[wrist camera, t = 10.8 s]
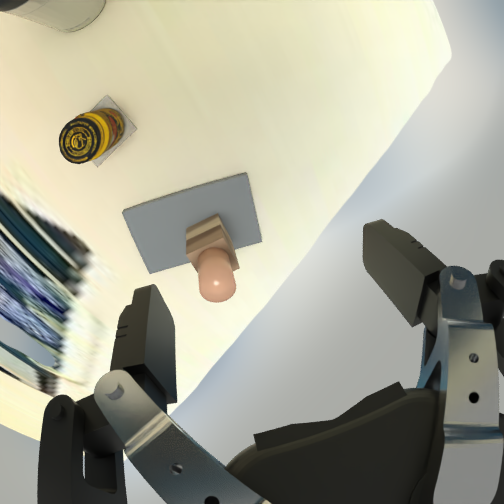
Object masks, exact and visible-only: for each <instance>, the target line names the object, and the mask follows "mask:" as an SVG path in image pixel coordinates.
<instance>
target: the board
mask: <svg viewBox="0 0 504 504" xmlns="http://www.w3.org/2000/svg"><path fill="white" fill-rule="evenodd" d="M217 213H218V215H219V217H220V219H221V221H222V223H223V225H224V227H225V229H226V230H227V232H228V234H229V236H230V238H231V240H232V243H233V247H234V250H235V249H238V248H242V247H245V246H249V245H252V244H256V243H260V242H262V239H261V234H260V230H259V225H258V221H257V216H256V212H255V207H254V203H253V198H252V194H251V189H250V185H249V180H248V176H247V174H246V173H242V174H238V175H234V176H231V177H227V178H223V179H220V180H216V181H213V182H209V183H206V184H202V185H199V186H195V187H192V188H189V189H185V190H182V191H179V192H176V193H172V194H169V195H166V196H163V197H160V198H157V199H154V200H151V201H148V202H145V203H142V204H139V205H136V206H133V207H130V208H127V209H125V210H123V212H122V214H123V216H124V219H125V221H126V223H127V226H128V228H129V230H130V233H131V235H132V237H133V239H134V242H135V244H136V246H137V248H138V250H139V252H140V255H141V257H142V259H143V261H144V263H145V265H146V267H147V269H148V271H149V273H150V274H152V273H155V272H158V271H162V270H165V269H169V268H172V267H176V266H179V265H183V264H186V263H190V260H189V259H188V257H187V255H186V228H188V227H190V226H192V225H194V224H196V223H198V222H200V221H202V220H204V219H206V218H209V217H211V216H213V215H215V214H217Z"/></svg>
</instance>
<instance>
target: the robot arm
mask: <svg viewBox="0 0 504 504" xmlns="http://www.w3.org/2000/svg"><path fill="white" fill-rule="evenodd" d="M105 1H106V0H0V11H2V12H5V13H9V14H12V15H16V16H19V17H22V18H25V19H29V20H32V21H34V22H37V23H40V24H43V25H46V26H48V27H51V28H54V29H56V30H59V31H62V32H73V31H77V30H79V29H82V28H83V27H85V26H87V25H88V24H89V23H91V22H92V21H93V20H94V19H95V18H96V17H97V16H98V15H99V13H100V12H101V11H102V9H103V7H104V4H105ZM363 263H364V266H365V269H366V270H367V272H368V273H369V274H370V276H371V277H372V278H373V279H374V280H375V282H376V283H377V284H378V285H379V286H380V288H381V289H382V290H383V291H384V293H385V294H386V295H387V296H388V297H389V299H390V300H391V301H392V302H393V304H394V305H395V306H396V307H397V309H398V310H399V311H400V312H401V314H402V315H403V316H404V318H405V319H406V320H407V321H408V323H409V324H410V325H411V326H412V327H414V326H416V325H418V324H420V323H422V322H423V323H424V325H425V328H424V333H423V348H422V361H421V371H420V376H419V380H418V383H417V386H416V388H408V389H403V387H402V386H401V384H400V383H399V382H396V383H394V384H392V385H390V386H388V387H386V388H384V389H382V390H380V391H378V392H375V393H373V394H371V395H369V396H367V397H365V398H364V399H363V400H362V401H360V402H359V403H357V404H356V405H354V406H353V407H352V408H350V409H349V410H347V411H346V412H345V413H343V414H342V415H340V416H339V417H337V418H335V419H333V420H328V421H320V422H310V423H299V424H290V425H287V426H284V427H281V428H277V429H273V430H269V431H265V432H262V433H258V434H254V439H255V444H253V445H251V446H249V447H247V448H246V449H244V450H243V451H241V452H240V453H239V454H238V455H236V456H235V457H234V458H233V459H232V460H231V461H230V462H229V463H228V465H227V466H225V465H223V464H222V463H221V462H220V461H218V460H217V459H216V458H215V457H214V456H212V455H211V454H210V453H209V452H207V451H206V450H205V449H204V448H203V447H202V446H200V445H199V444H198V443H197V442H196V441H195V440H194V439H193V438H192V437H191V436H189V435H188V434H187V433H186V432H185V431H184V430H183V429H182V428H181V427H180V426H179V425H178V424H177V423H176V422H175V421H174V420H173V419H172V418H171V417H170V416H169V415H168V414H167V404H171V403H177V388H176V360H175V325H174V321H173V318H172V315H171V313H170V311H169V309H168V307H167V305H166V303H165V302H164V300H163V298H162V296H161V294H160V292H159V290H158V288H157V286H156V285H155V284H152V285H148V286H145V287H141V288H138V289H135V291H134V295H133V300H132V304H131V305H127V306H126V307H125V309H124V310H123V312H122V313H121V315H120V317H119V321H118V326H117V328H118V330H117V332H116V339H115V342H114V348H113V354H112V360H111V366H110V372H108V373H106V374H105V375H103V376H102V377H101V378H100V380H99V381H98V382H97V384H96V386H95V389H94V394H92V395H90V396H87V397H85V398H83V399H81V400H79V401H77V402H75V401H74V400H73V399H71V398H70V397H69V396H67V395H58V396H56V397H54V398H53V399H52V400H51V401H50V402H49V403H48V405H47V406H46V408H45V411H44V417H43V424H42V431H41V440H40V450H39V463H38V491H37V494H38V495H37V497H38V504H127V496H126V487H125V475H124V462H123V449H124V452H125V454H126V456H127V457H128V459H129V460H130V461H131V463H132V464H133V465H134V467H135V468H136V469H137V470H138V471H139V473H140V474H141V475H142V476H143V478H144V479H145V480H146V481H147V482H148V483H149V485H150V486H151V487H152V488H153V489H154V490H155V491H156V492H157V493H158V495H159V496H160V497H161V498H162V499H163V500H164V501H165V502H166V503H167V504H504V414H502V413H499V377H498V369H499V370H500V372H501V373H502V375H503V376H504V318H503V317H504V260H495V261H493V262H492V263H491V264H490V267H489V270H488V273H486V274H479V275H473V274H472V273H471V272H470V271H469V270H467V269H465V268H463V267H460V266H448V267H447V266H446V265H444V264H443V263H442V262H441V261H440V260H439V259H438V258H437V257H436V256H435V255H433V254H432V253H431V252H430V251H429V250H428V249H427V248H425V247H423V245H422V244H421V243H420V242H418V241H417V240H416V239H415V238H414V237H412V236H411V235H410V234H409V233H407V232H405V231H402V230H400V229H398V228H393V227H392V226H391V225H389V223H387V222H386V221H385V220H383V219H381V220H377V221H374V222H370V223H367V224H365V225H364V227H363ZM83 451H84V452H85V479H84V476H83Z"/></svg>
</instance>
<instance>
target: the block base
mask: <svg viewBox="0 0 504 504" xmlns="http://www.w3.org/2000/svg"><path fill="white" fill-rule="evenodd" d="M218 225H221V227H222V229H223V231H224V232H225V234H226V236H227V238H228V240H229V242H230V244H231V246H232V248H233V250H234V247H233V243H232V240H231V238H230V236H229V234H228V232H227V230H226V229H225V227H224V225H223V223H222V221H221V219H220V217H219V215H218V213H217V214H215V215H213V216H211V217H209V218H206V219H204V220H202V221H200V222H198V223H196V224H194V225H192V226H190V227H188V228H186V240H188V239H190V238H192V237H194V236H196V235H199V234H201V233H203V232H205V231H207V230H209V229H211V228H213V227H216V226H218ZM234 252H235V250H234Z"/></svg>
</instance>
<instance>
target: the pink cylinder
mask: <svg viewBox="0 0 504 504" xmlns="http://www.w3.org/2000/svg"><path fill="white" fill-rule="evenodd" d="M197 265H198V278H199V290H200V294H201V295H202V297H203V298H204V299H206V300H207V301H210V302H223V301H226V300H228V299H229V298H231V297H232V296H233V294H234V293H235V291H236V283H235V279H234V275H233V271H232V267H231V263H230V259H229V256H228V254H227V252H226V251H224V250H223V249H221V248H217V247H211V248H207V249H205V250H204V251H202V252H201V253H200V255H199V256H198V260H197Z"/></svg>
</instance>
